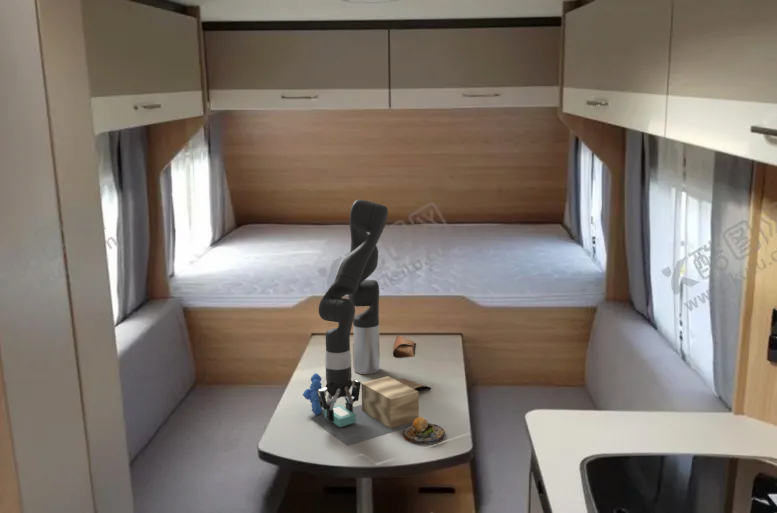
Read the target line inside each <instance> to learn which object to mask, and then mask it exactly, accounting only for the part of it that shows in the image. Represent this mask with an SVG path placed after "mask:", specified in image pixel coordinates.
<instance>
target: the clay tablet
mask: <svg viewBox="0 0 777 513" xmlns="http://www.w3.org/2000/svg"><path fill="white" fill-rule="evenodd" d="M394 379H395V378H394ZM395 380H397V381H399V382H401V383H403V384H405V385H407V386H408V387H410V388H412V389H414V390H416V389H417V388H421V387H425V388H429V389H431V387H430V386H426V385H423V384H421V383H418V382H415V381H412V380H409V379H407V378H396V379H395Z"/></svg>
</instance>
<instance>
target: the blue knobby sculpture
mask: <svg viewBox="0 0 777 513" xmlns="http://www.w3.org/2000/svg"><path fill="white" fill-rule="evenodd" d="M310 381H311V384H310V386H309V388H307V389H305V390H304V391H303V393H302V396H303V397H304V398H305V400H309V403H311V411H312V413H313V414H314V415H315V416H319V415H320V414H321V413H322V411H323V408H322V407H320V403H319V399H318V394H317V390H318V389H320V390H321V389H323V388H322V385H323V384H322V383H321V381H322V377H321V376H320V375H319V373H314V374H312V376H311V378H310Z"/></svg>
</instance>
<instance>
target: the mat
mask: <svg viewBox="0 0 777 513" xmlns="http://www.w3.org/2000/svg"><path fill="white" fill-rule="evenodd" d="M353 413H354V414H355V415H356V422H355V423H352V424H349V425H345V426H342V427H339V426H337V425H336V424H335V423H333V422H331V421H330V420H329V419H327V418H326V417H325V414H323V415H320V416H319V415H318V416H315V417H312V418H310V421H312V422H314V424H316V425H318V426H319V427H321V428H322V429H324V431H326V432H328V433H329V434H330V435H331V436H333V437H334V438H336V439H337V440H338V441H340V442H341V443H343V444H344V445H345V446H347V447H349V446H352V445H355V444H360V443H361V442H362V443H363V442H365V441H368V440H371V439H374V438H377V437H380V436H384V435H387V434H391V433H394V432H397V431H400V430H404V429H405V428H406V427H407V426H409V425H412V424H413V422H411V423H408V424H404V425H401V426H398V427H395V428H389V427H388V426H386V425H385V424H383V423H381V422H380V421H378V420H377V419H375V418H373V417H372V416H370V415H368V414H367V413H365V412H364V411H362V404H359V405H356V406H353Z"/></svg>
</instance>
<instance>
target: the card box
mask: <svg viewBox="0 0 777 513" xmlns="http://www.w3.org/2000/svg"><path fill="white" fill-rule="evenodd" d="M323 410H324V415H325V417H326V418H327V409H326V410H325V409H323ZM333 410H334V421H332V422H333V423H335V424H336V425H337V426H339V427H342V426H345V425H349V424H352V423H355V422H356V415H355V414H354V413H352V412H351V411H349V410H347V409H346V406H343V405H342V404H338V405H334V407H333Z"/></svg>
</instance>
